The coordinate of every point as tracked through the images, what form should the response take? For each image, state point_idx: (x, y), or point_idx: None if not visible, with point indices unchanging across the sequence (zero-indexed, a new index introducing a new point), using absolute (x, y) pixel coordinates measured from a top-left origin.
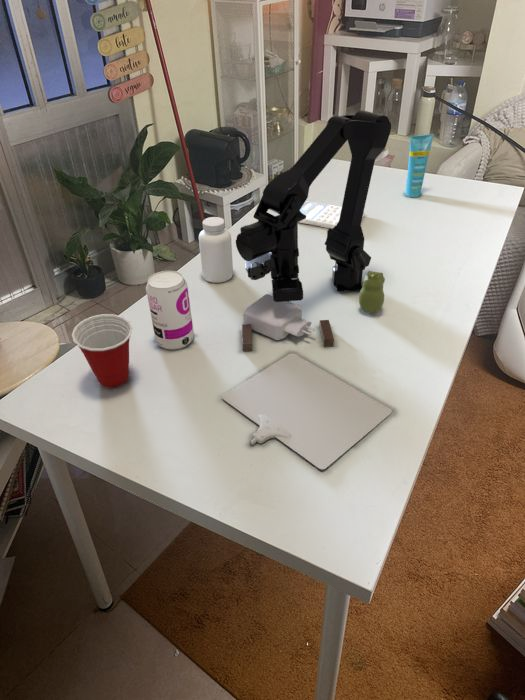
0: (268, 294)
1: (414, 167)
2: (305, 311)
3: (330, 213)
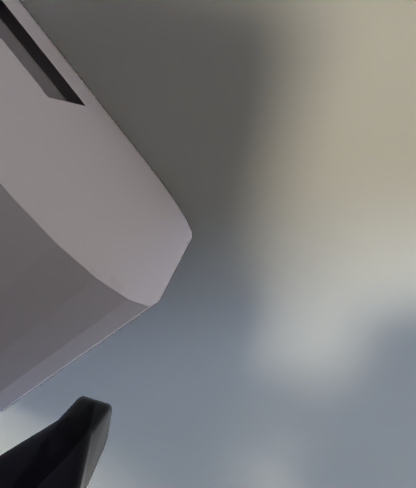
0: (107, 309)
1: None
2: (94, 479)
3: None
